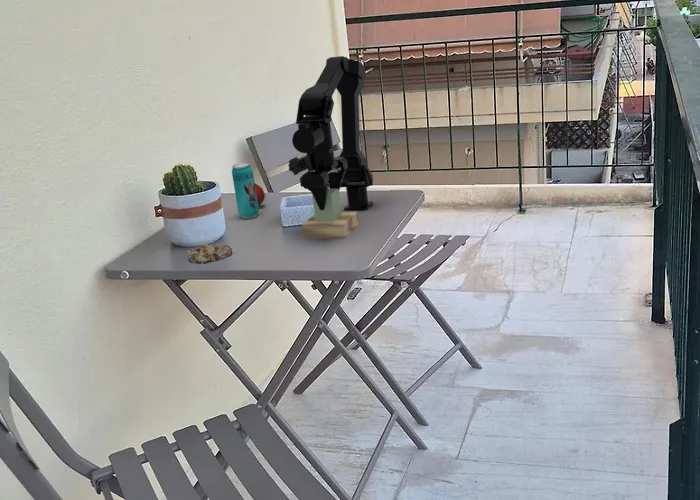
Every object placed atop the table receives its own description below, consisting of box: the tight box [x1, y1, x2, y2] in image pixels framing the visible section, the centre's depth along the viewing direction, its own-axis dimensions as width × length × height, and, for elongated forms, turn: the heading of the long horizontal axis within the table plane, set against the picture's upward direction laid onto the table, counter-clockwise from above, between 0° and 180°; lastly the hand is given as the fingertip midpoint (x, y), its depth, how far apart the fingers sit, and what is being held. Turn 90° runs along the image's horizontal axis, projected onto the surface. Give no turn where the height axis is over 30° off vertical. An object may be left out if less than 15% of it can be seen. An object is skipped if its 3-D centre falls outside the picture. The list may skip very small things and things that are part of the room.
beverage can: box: [231, 162, 260, 220], centre depth 211 cm, size 6×6×15 cm
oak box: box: [301, 210, 360, 240], centre depth 191 cm, size 11×11×4 cm
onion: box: [255, 183, 266, 208], centre depth 221 cm, size 6×6×8 cm
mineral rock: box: [187, 243, 233, 264], centre depth 182 cm, size 11×4×8 cm
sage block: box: [311, 189, 342, 221], centre depth 190 cm, size 5×5×7 cm
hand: (328, 204), depth 190 cm, fingers open, 9 cm apart
